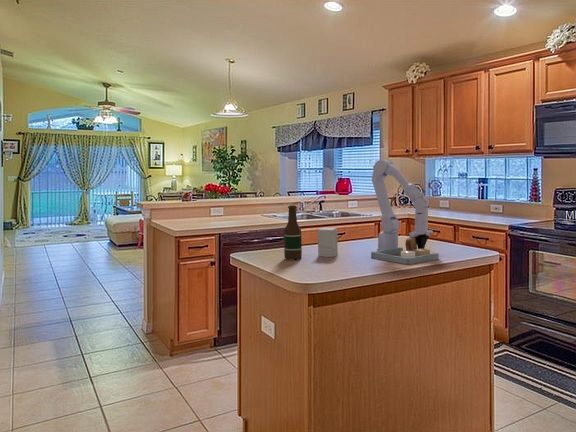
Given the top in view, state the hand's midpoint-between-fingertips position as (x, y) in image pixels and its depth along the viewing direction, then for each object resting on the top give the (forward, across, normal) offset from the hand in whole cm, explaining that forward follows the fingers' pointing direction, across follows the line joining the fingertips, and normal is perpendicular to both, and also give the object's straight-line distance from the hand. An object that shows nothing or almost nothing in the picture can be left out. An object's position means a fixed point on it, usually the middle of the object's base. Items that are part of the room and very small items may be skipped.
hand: (421, 251), depth 220 cm
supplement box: (+1, -37, +23) cm, 44 cm away
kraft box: (+1, -10, -8) cm, 13 cm away
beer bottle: (+1, -54, +27) cm, 61 cm away
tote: (+1, -16, -3) cm, 16 cm away
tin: (+1, -9, -2) cm, 9 cm away
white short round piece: (+1, -19, -8) cm, 21 cm away
